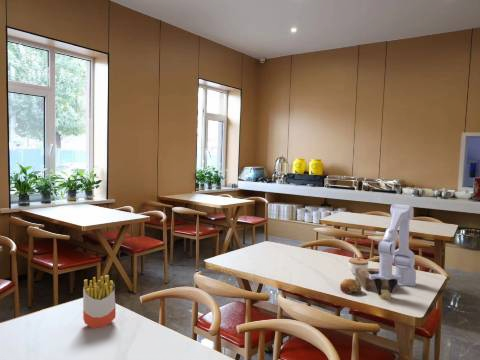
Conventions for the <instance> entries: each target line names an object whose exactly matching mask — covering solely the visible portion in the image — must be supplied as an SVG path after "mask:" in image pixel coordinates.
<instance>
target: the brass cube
mask: <svg viewBox="0 0 480 360" xmlns="http://www.w3.org/2000/svg"><path fill="white" fill-rule="evenodd" d="M377 297H379V299H381V300H392V294H391V292H389V291H388V290H381V294H380V295H378V294H377Z"/></svg>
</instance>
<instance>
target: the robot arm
mask: <svg viewBox="0 0 480 360" xmlns="http://www.w3.org/2000/svg"><path fill="white" fill-rule="evenodd" d="M390 217H391V220H390V224H389V227H388V228H386V230H385V232H384V235H383V238H382V240H381V241H379V242H378V246H377V249H378V250H377V251H378V256H379V264H378V265H379V266H378V269H379V274H369V279H371V280H374V282H375V284H376V288H377V292H376V293H377V296H378V295H380V294H381V285H382V282H381V280H380V279H383V280H388V291H389V292H391V295H392V294H393V292H394V291H393V289H394V287H395V285H396V284H397V281H396V280H398V284H397V286H401V287H404V286H408V287H410V286H411V287H416V286H417V284H416V280H417V271H416V268H415V264H416V263H415V262H416V258H415V252H413V251H412V250H411V249H410V248H409V247H410V245H409V244H410V220H414V207H413V205H411V204H399V203H392V204H391V206H390ZM398 230H399V231H398ZM397 239H398V248H397V249H396V245H397V243H396V242H397ZM393 265H394V267H395V274H393ZM392 274H393V275H392Z"/></svg>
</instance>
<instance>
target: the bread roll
mask: <svg viewBox="0 0 480 360" xmlns="http://www.w3.org/2000/svg"><path fill="white" fill-rule="evenodd" d="M339 289H340V291H341V293H343V294H345V295H352V296H356V295H359V294H360V293H361V291H362V286H361V285H360V284H359V282H358V281H356V280H355V278H354V279H353V278H345V279H344V280H342V281H341V283H340V288H339Z"/></svg>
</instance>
